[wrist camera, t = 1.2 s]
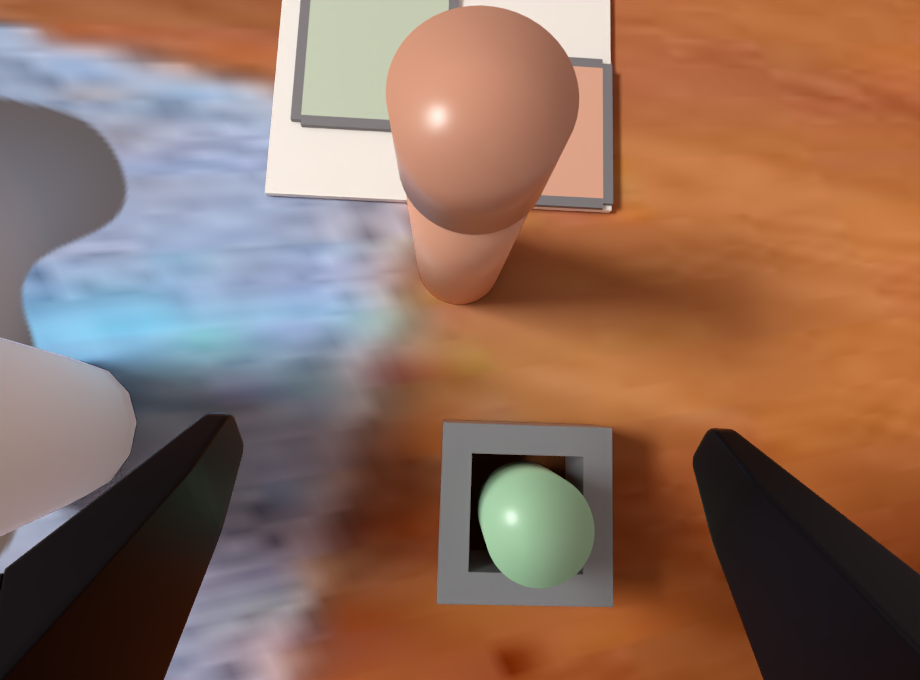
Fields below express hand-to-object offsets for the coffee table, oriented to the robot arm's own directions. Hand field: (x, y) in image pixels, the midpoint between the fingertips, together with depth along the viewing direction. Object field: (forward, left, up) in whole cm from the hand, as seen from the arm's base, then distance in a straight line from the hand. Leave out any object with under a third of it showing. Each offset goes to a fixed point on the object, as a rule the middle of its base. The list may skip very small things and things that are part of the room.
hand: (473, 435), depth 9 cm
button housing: (-5, +1, -13) cm, 14 cm away
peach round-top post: (+4, -6, -13) cm, 15 cm away
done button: (-5, +1, -12) cm, 12 cm away
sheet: (+10, -13, -13) cm, 21 cm away
